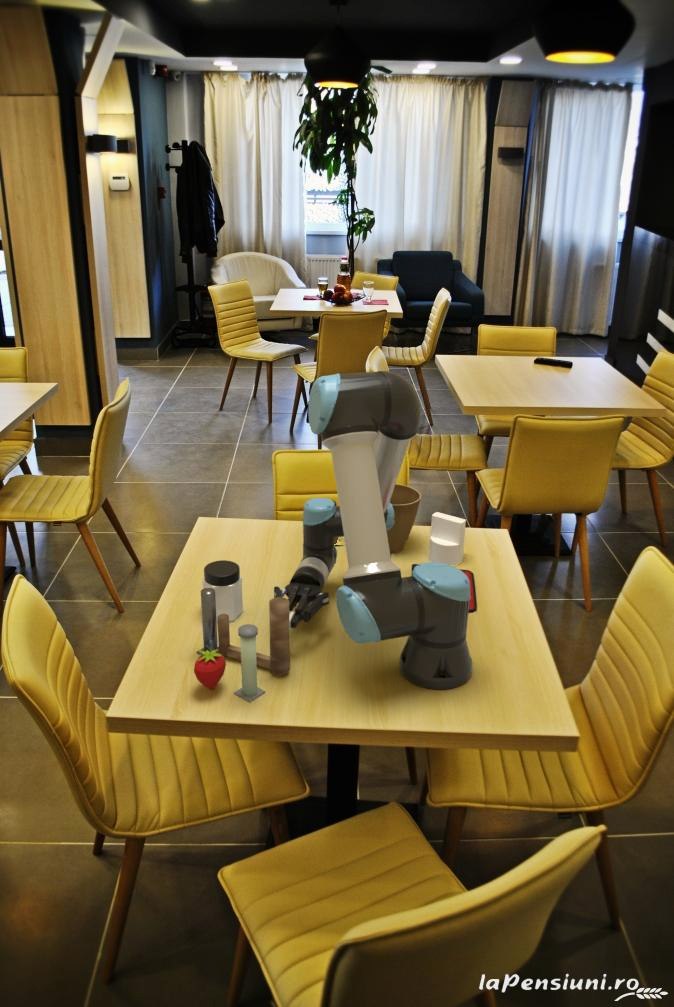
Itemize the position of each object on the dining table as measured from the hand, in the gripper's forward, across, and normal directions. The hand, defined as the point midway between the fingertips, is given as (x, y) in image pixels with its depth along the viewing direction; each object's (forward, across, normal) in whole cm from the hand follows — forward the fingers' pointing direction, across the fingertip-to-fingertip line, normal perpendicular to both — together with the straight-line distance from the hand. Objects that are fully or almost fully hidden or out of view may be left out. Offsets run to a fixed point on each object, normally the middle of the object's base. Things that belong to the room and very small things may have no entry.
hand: (282, 632), depth 175 cm
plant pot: (-62, -14, -8) cm, 64 cm away
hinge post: (-2, +17, -8) cm, 19 cm away
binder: (-41, -30, -9) cm, 52 cm away
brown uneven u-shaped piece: (+1, +6, -8) cm, 10 cm away
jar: (-18, +19, -8) cm, 28 cm away
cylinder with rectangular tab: (-59, -29, -8) cm, 66 cm away
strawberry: (+11, +12, -9) cm, 18 cm away
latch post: (+11, +4, -8) cm, 14 cm away
